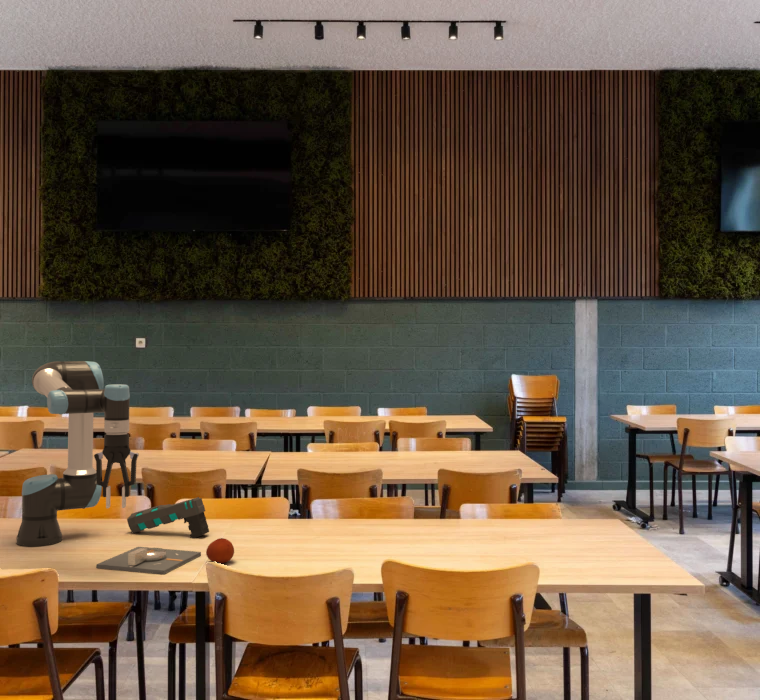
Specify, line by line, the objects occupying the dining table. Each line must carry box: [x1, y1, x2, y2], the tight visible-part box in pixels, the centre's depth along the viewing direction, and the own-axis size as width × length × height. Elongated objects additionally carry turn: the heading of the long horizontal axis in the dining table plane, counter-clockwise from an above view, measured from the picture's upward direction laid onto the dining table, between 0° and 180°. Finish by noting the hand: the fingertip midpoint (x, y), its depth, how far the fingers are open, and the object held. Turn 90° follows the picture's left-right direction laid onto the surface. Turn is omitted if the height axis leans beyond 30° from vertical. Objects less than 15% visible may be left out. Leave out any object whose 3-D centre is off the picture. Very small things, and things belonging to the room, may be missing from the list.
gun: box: [126, 496, 210, 539], centre depth 305 cm, size 7×29×15 cm, turn 78°
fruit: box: [205, 537, 235, 564], centre depth 267 cm, size 9×9×8 cm
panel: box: [96, 546, 202, 575], centre depth 267 cm, size 24×24×1 cm
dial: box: [128, 547, 166, 565], centre depth 264 cm, size 16×10×4 cm, turn 165°
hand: (116, 507), depth 257 cm, fingers open, 4 cm apart
